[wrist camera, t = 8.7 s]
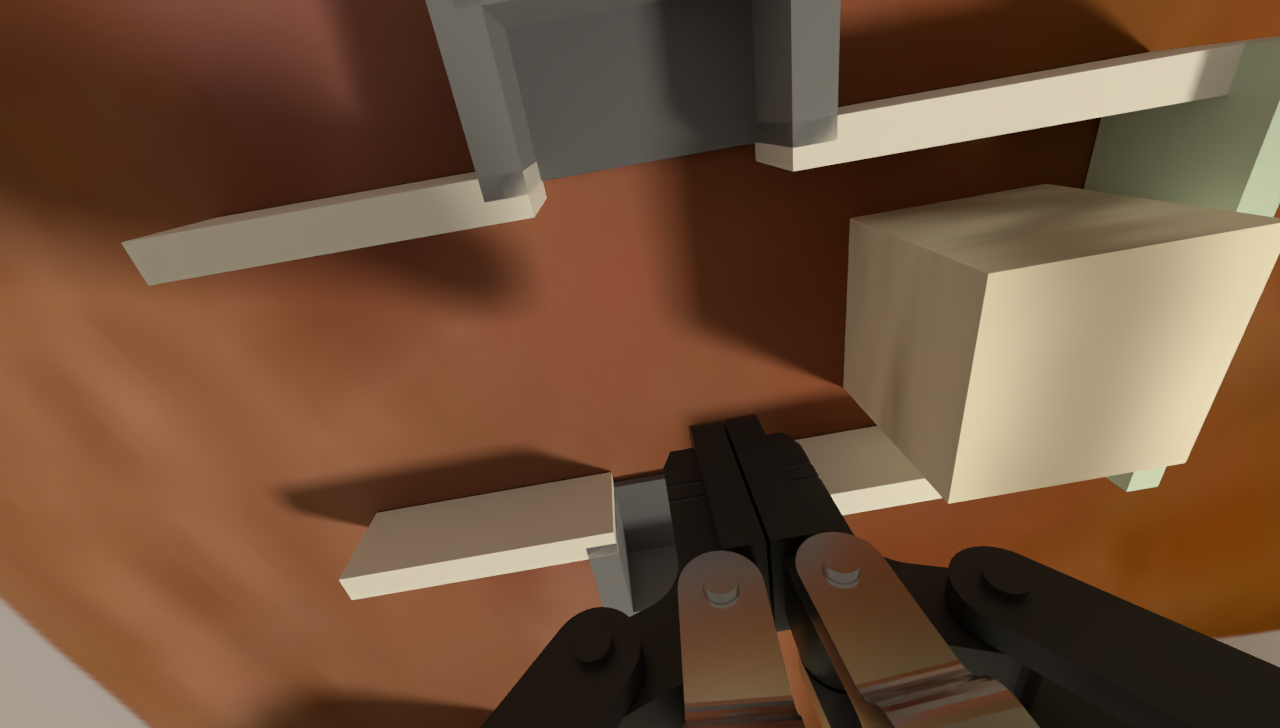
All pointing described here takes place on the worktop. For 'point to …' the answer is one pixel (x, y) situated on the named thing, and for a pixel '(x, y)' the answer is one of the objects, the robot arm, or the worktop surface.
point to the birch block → (1047, 331)
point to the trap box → (699, 122)
